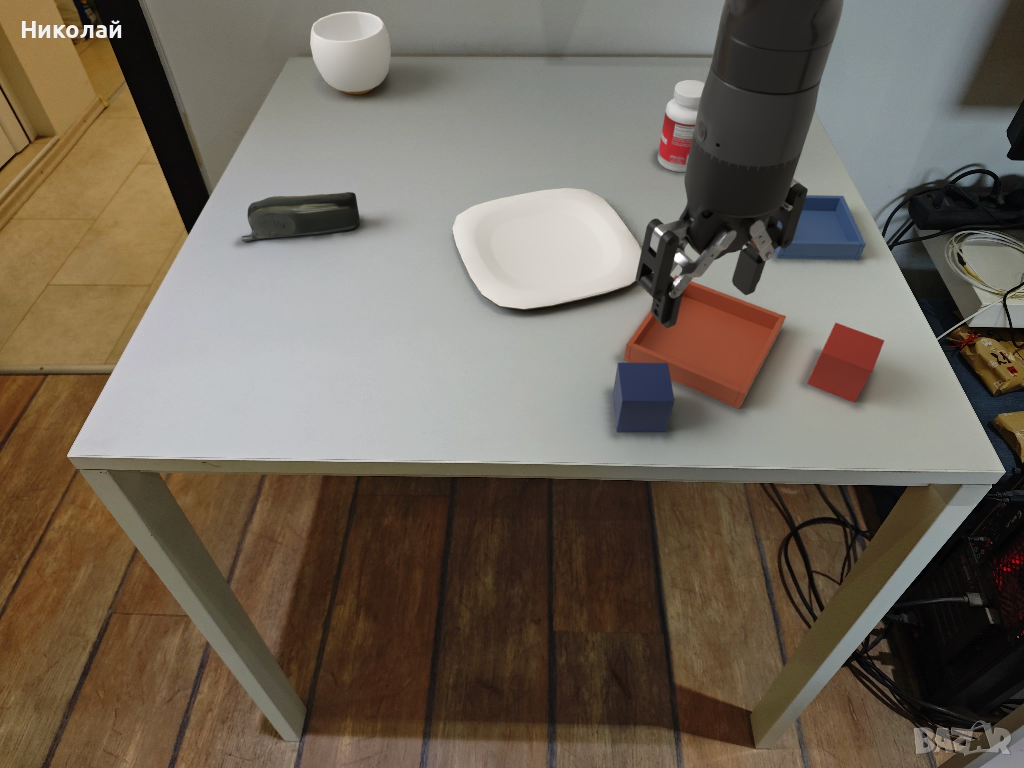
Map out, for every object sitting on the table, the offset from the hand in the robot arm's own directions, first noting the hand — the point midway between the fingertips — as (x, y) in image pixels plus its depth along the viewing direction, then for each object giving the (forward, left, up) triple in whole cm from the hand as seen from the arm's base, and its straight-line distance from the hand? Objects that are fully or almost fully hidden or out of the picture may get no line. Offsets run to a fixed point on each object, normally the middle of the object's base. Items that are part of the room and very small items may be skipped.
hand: (704, 304), depth 62 cm
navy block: (+3, +2, -15) cm, 16 cm away
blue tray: (-3, -37, -15) cm, 40 cm away
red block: (-13, -14, -15) cm, 24 cm away
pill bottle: (+18, -44, -15) cm, 50 cm away
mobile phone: (+53, -3, -15) cm, 55 cm away
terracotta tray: (+1, -11, -15) cm, 19 cm away
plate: (+24, -16, -15) cm, 33 cm away
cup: (+72, -37, -15) cm, 82 cm away
